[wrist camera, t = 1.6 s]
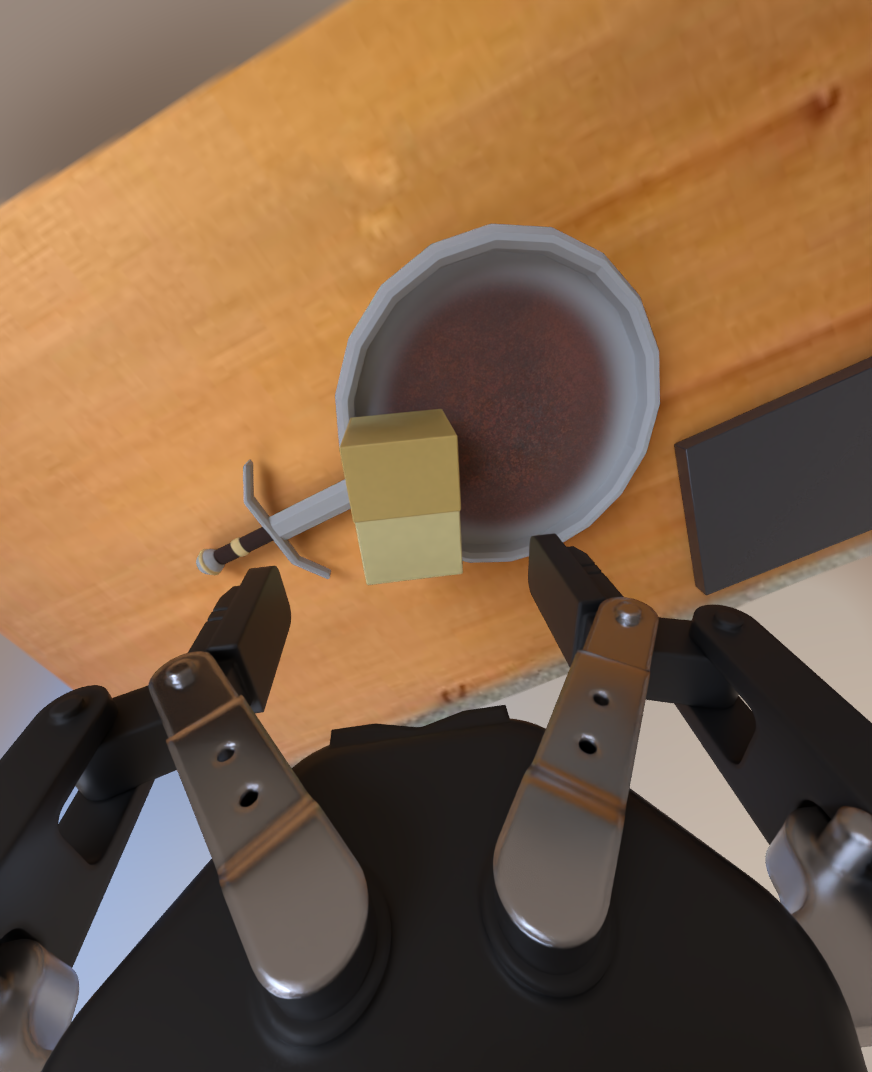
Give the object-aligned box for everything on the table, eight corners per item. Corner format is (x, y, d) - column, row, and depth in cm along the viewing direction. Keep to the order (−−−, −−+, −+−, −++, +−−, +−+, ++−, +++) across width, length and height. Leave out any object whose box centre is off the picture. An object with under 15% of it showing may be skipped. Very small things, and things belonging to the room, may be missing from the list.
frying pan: (63, 450, 19) (635, 126, 15) (101, 434, 22) (601, 152, 18) (279, 673, 27) (693, 496, 23) (289, 642, 30) (664, 477, 26)
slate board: (1023, 288, 23) (1054, 287, 22) (977, 473, 28) (1000, 479, 27) (673, 443, 25) (686, 449, 24) (695, 586, 31) (706, 595, 30)
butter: (442, 408, 20) (457, 435, 16) (449, 524, 23) (464, 574, 19) (349, 417, 20) (338, 447, 15) (369, 533, 23) (365, 586, 18)
